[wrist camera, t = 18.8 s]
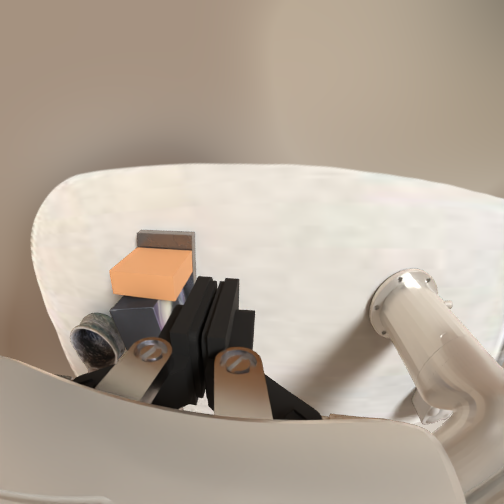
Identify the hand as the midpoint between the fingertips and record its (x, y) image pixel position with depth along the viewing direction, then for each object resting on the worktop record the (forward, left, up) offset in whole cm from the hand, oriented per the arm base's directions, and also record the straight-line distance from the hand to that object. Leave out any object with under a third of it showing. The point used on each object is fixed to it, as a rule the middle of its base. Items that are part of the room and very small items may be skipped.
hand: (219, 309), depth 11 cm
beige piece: (-43, +35, -25) cm, 61 cm away
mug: (+25, +24, -25) cm, 43 cm away
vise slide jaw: (+11, +8, -23) cm, 27 cm away
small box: (+11, +15, -24) cm, 30 cm away
